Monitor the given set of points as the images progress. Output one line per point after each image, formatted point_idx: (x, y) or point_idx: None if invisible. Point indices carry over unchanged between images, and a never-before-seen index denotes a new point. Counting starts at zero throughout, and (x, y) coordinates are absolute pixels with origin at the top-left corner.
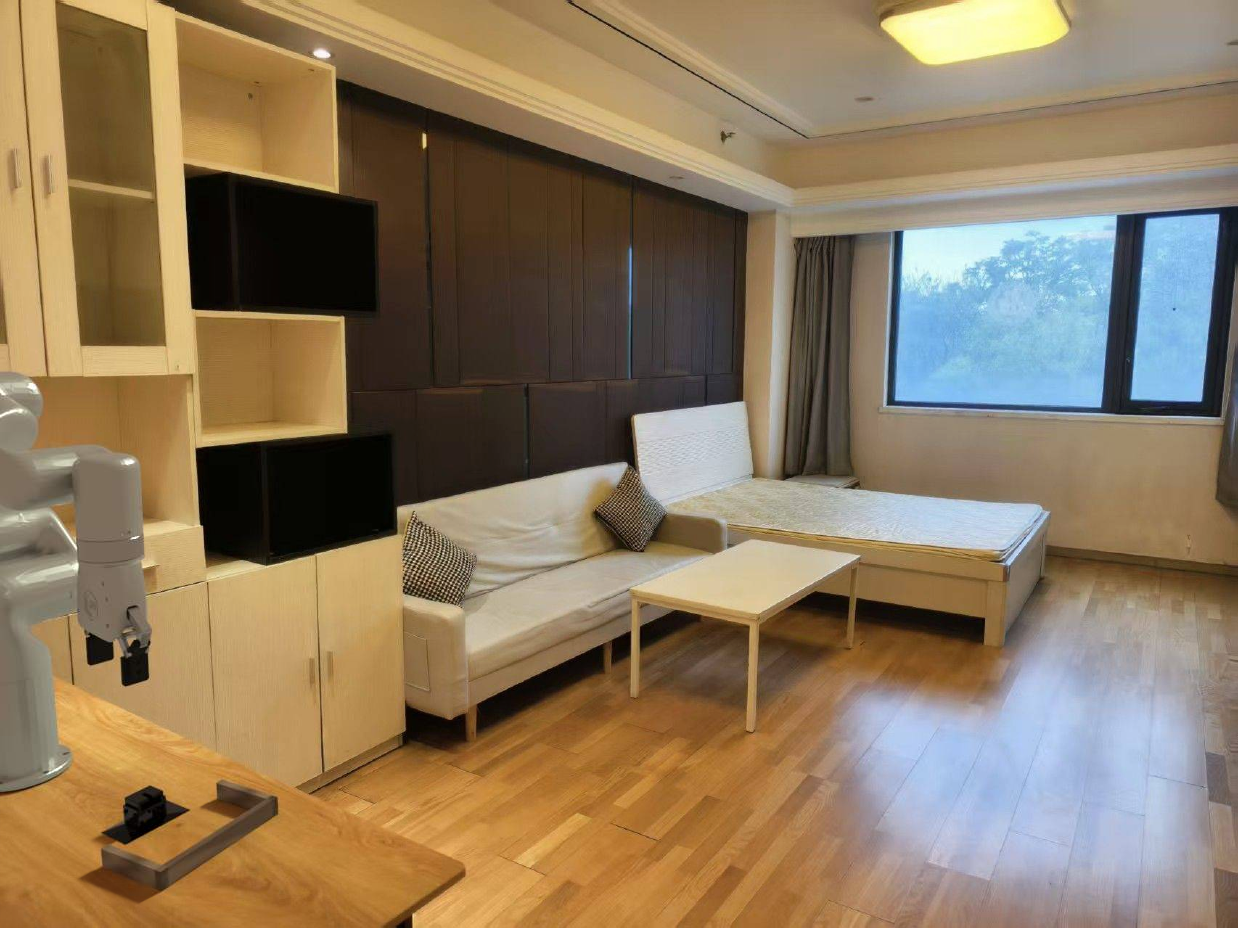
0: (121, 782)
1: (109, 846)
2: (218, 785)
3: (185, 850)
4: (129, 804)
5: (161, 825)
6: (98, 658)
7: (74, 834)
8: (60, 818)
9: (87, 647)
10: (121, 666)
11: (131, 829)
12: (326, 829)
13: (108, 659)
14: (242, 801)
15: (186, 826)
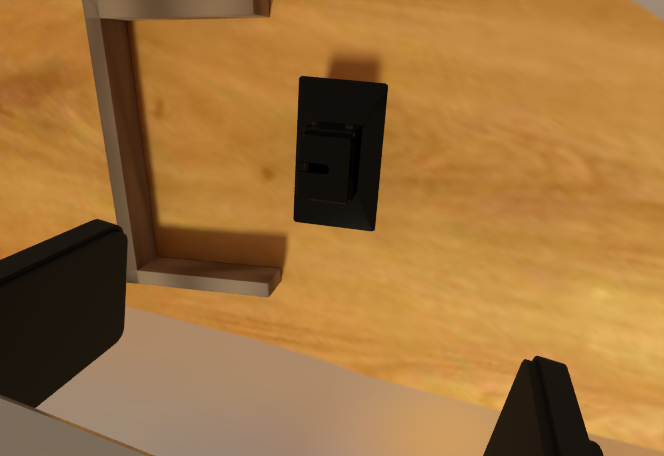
0: (532, 248)
1: (243, 8)
2: (262, 280)
3: (108, 75)
4: (335, 135)
5: (296, 157)
6: (510, 416)
7: (436, 52)
8: (533, 81)
9: (563, 446)
10: (15, 264)
11: (329, 116)
12: None
13: (489, 445)
14: (208, 266)
15: (250, 175)
